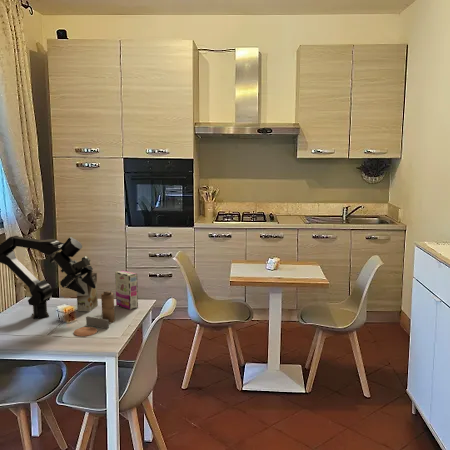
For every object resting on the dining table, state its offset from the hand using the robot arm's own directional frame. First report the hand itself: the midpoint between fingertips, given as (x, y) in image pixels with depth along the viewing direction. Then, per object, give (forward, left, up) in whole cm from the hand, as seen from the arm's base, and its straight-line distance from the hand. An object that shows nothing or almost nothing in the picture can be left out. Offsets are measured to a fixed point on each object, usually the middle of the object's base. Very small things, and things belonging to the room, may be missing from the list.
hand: (89, 290), depth 207 cm
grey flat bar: (+9, +1, -13) cm, 16 cm away
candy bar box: (-11, +19, -13) cm, 26 cm away
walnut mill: (+5, +6, -13) cm, 15 cm away
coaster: (+14, -5, -13) cm, 19 cm away
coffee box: (-17, +2, -13) cm, 22 cm away
